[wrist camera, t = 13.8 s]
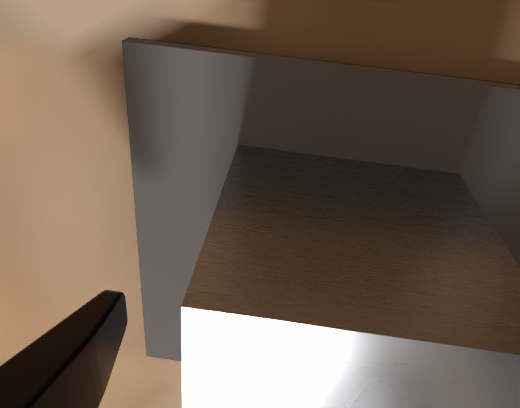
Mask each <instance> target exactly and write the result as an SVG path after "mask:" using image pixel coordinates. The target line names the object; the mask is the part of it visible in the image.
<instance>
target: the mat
mask: <svg viewBox="0 0 520 408" xmlns="http://www.w3.org/2000/svg"><path fill="white" fill-rule="evenodd" d="M122 49H123V62H124V74H125V87H126V100H127V113H128V125H129V138H130V151H131V164H132V176H133V189H134V202H135V215H136V227H137V240H138V253H139V266H140V278H141V291H142V304H143V317H144V329H145V342H146V355H147V356H150V357H156V358H163V359H170V360H177V361H182V347H181V306H182V303H183V300H184V297H185V294H186V291H187V288H188V286H189V283H190V280H191V277H192V274H193V271H194V268H195V265H196V263H197V260H198V257H199V254H200V251H201V248H202V245H203V243H204V240H205V237H206V234H207V231H208V228H209V225H210V222H211V220H212V217H213V214H214V211H215V208H216V205H217V202H218V199H219V197H220V194H221V191H222V188H223V185H224V182H225V179H226V177H227V174H228V171H229V168H230V165H231V162H232V159H233V156H234V154H235V151H236V148H237V145H244V146H252V147H259V148H267V149H275V150H282V151H290V152H298V153H305V154H313V155H321V156H328V157H336V158H344V159H351V160H359V161H367V162H375V163H382V164H390V165H398V166H405V167H413V168H421V169H428V170H436V171H444V172H451V173H459V175H460V176H461V178H462V179H463V181H464V182H465V184H466V185H467V187H468V188H469V190H470V192H471V193H472V195H473V196H474V198H475V199H476V201H477V202H478V204H479V206H480V207H481V209H482V210H483V212H484V213H485V215H486V216H487V218H488V220H489V221H490V223H491V224H492V226H493V227H494V229H495V230H496V232H497V234H498V235H499V237H500V238H501V240H502V241H503V243H504V244H505V246H506V248H507V249H508V251H509V252H510V254H511V255H512V257H513V258H514V260H515V262H516V263H517V265H518V266H519V268H520V85H514V84H506V83H497V82H489V81H481V80H473V79H465V78H457V77H448V76H440V75H432V74H424V73H416V72H408V71H400V70H391V69H383V68H375V67H367V66H359V65H351V64H342V63H334V62H326V61H318V60H310V59H302V58H294V57H285V56H277V55H269V54H261V53H253V52H245V51H236V50H228V49H220V48H212V47H204V46H196V45H188V44H179V43H171V42H163V41H155V40H147V39H139V38H130V37H129V38H127V39H125V40H123V41H122Z"/></svg>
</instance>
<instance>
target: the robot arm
mask: <svg viewBox="0 0 520 408" xmlns="http://www.w3.org/2000/svg"><path fill="white" fill-rule="evenodd" d="M126 326H127V310H126V301H125V295H124V293H122V292H118V291H111V290H105V291H103V292H101V293H100V294H98V295H97V296H96V297H94V298H93V299H91V300H90V301H89V302H87V303H86V304H85V305H83V306H82V307H80V308H79V309H78V310H76V311H75V312H74V313H72V314H71V315H70V316H68V317H67V318H65V319H64V320H63V321H61V322H60V323H59V324H57V325H56V326H54V327H53V328H52V329H50V330H49V331H48V332H46V333H45V334H43V335H42V336H41V337H39V338H38V339H37V340H35V341H34V342H33V343H31V344H30V345H28V346H27V347H26V348H24V349H23V350H22V351H20V352H19V353H17V354H16V355H15V356H13V357H12V358H11V359H9V360H8V361H6V362H5V363H4V364H2V365H1V366H0V408H98V406H99V404H100V402H101V400H102V397H103V395H104V392H105V389H106V386H107V384H108V381H109V378H110V375H111V372H112V369H113V366H114V363H115V360H116V357H117V354H118V351H119V348H120V345H121V342H122V339H123V336H124V333H125V330H126Z"/></svg>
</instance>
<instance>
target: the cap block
mask: <svg viewBox="0 0 520 408" xmlns="http://www.w3.org/2000/svg"><path fill="white" fill-rule="evenodd" d="M181 347H182V408H520V268H519V266H518V265H517V263H516V262H515V260H514V258H513V257H512V255H511V254H510V252H509V251H508V249H507V248H506V246H505V244H504V243H503V241H502V240H501V238H500V237H499V235H498V234H497V232H496V230H495V229H494V227H493V226H492V224H491V223H490V221H489V220H488V218H487V216H486V215H485V213H484V212H483V210H482V209H481V207H480V206H479V204H478V202H477V201H476V199H475V198H474V196H473V195H472V193H471V192H470V190H469V188H468V187H467V185H466V184H465V182H464V181H463V179H462V178H461V176H460V175H459V173H451V172H444V171H436V170H428V169H421V168H413V167H405V166H398V165H390V164H382V163H375V162H367V161H359V160H351V159H344V158H336V157H328V156H321V155H313V154H305V153H298V152H290V151H282V150H275V149H267V148H259V147H252V146H244V145H237V148H236V151H235V154H234V156H233V159H232V162H231V165H230V168H229V171H228V174H227V177H226V179H225V182H224V185H223V188H222V191H221V194H220V197H219V199H218V202H217V205H216V208H215V211H214V214H213V217H212V220H211V222H210V225H209V228H208V231H207V234H206V237H205V240H204V243H203V245H202V248H201V251H200V254H199V257H198V260H197V263H196V265H195V268H194V271H193V274H192V277H191V280H190V283H189V286H188V288H187V291H186V294H185V297H184V300H183V303H182V306H181Z"/></svg>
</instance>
